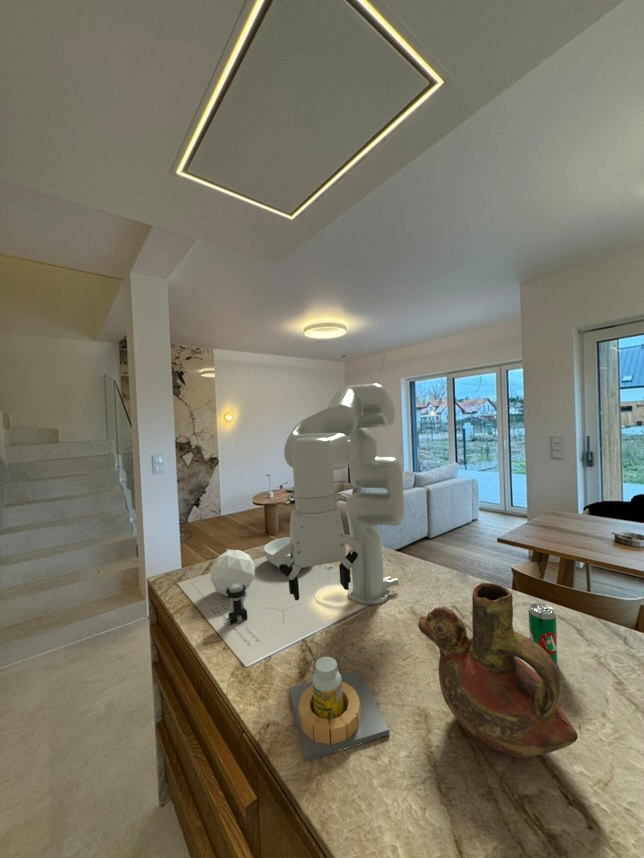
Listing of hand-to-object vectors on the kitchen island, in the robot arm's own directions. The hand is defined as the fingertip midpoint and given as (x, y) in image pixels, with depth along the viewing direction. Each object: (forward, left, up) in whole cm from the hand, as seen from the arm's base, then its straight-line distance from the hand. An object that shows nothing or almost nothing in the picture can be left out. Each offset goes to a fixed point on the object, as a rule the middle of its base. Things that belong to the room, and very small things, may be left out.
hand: (320, 591), depth 66 cm
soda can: (-48, +4, -23) cm, 53 cm away
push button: (+16, -36, -23) cm, 46 cm away
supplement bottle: (+1, +3, -22) cm, 22 cm away
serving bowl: (-6, -69, -23) cm, 73 cm away
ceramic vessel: (-26, +13, -23) cm, 37 cm away
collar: (0, +3, -23) cm, 23 cm away
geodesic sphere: (+16, -53, -23) cm, 60 cm away
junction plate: (-1, +2, -23) cm, 23 cm away
